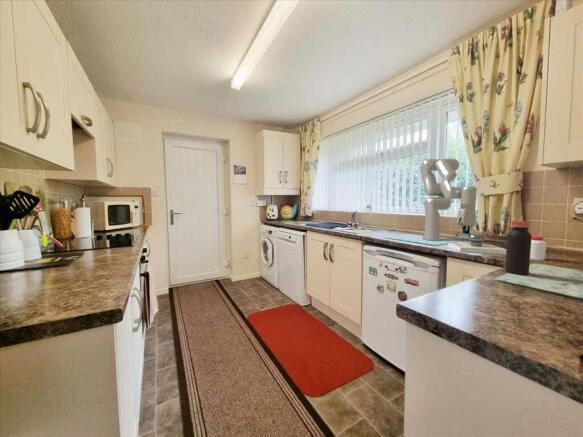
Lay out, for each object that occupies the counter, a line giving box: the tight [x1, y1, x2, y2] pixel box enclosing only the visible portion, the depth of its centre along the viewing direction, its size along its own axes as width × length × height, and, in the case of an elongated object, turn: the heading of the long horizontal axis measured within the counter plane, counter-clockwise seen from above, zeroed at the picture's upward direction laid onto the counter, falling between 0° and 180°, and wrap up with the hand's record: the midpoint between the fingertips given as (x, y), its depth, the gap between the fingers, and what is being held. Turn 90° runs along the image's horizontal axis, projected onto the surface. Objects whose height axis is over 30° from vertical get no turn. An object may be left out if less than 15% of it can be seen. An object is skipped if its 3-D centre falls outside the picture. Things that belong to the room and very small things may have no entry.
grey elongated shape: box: [455, 231, 486, 246], centre depth 143 cm, size 17×8×6 cm, turn 13°
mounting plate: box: [448, 242, 507, 255], centre depth 139 cm, size 17×22×3 cm
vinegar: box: [504, 220, 533, 276], centre depth 93 cm, size 7×7×20 cm
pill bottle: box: [530, 235, 547, 261], centre depth 118 cm, size 8×8×11 cm
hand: (465, 236), depth 148 cm, fingers closed
